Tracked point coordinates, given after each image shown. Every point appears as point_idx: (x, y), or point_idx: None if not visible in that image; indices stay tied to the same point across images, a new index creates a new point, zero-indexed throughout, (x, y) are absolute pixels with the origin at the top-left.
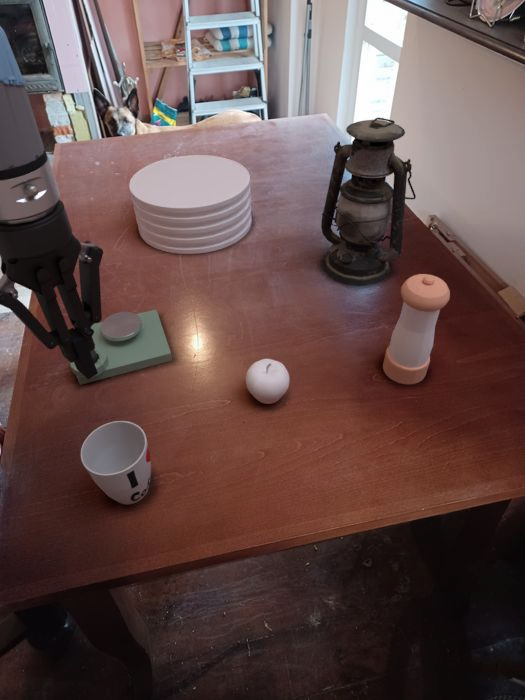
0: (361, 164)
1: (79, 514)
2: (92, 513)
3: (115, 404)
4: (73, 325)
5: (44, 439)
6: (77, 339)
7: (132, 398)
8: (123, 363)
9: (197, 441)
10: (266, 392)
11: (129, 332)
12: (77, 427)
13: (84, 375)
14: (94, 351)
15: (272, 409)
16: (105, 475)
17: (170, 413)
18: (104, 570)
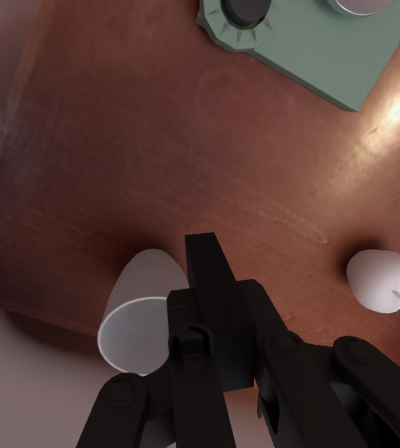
0: None
1: (82, 261)
2: (96, 269)
3: (215, 127)
4: (263, 358)
5: (82, 106)
6: (230, 386)
7: (243, 137)
8: (287, 62)
9: (253, 264)
10: (362, 303)
11: (362, 4)
12: (141, 125)
13: (187, 270)
14: (269, 2)
15: (344, 282)
16: (117, 368)
17: (262, 205)
18: (81, 327)
